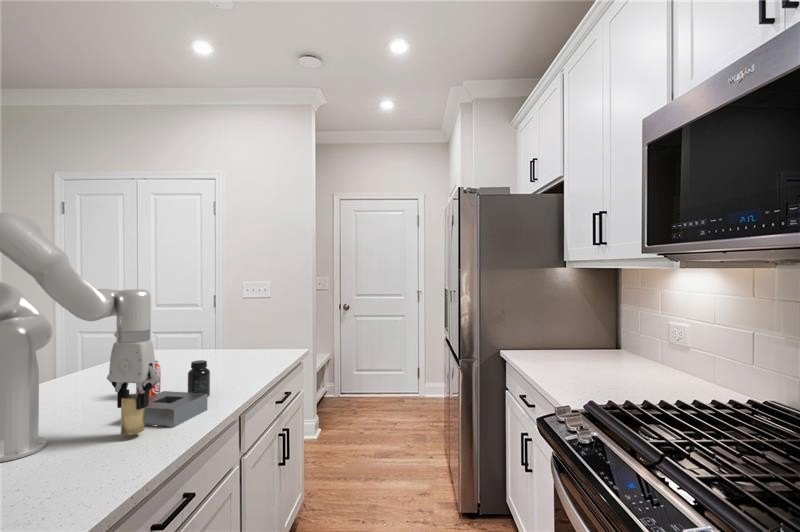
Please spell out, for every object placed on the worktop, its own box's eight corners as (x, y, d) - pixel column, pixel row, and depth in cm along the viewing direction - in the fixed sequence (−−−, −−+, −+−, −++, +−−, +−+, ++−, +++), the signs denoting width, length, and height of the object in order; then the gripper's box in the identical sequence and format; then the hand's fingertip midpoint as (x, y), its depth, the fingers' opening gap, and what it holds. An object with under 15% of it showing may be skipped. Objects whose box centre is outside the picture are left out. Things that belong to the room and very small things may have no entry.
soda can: (149, 401, 139) (149, 365, 139) (130, 400, 140) (131, 364, 140) (165, 395, 146) (165, 360, 146) (147, 394, 147) (147, 359, 147)
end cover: (133, 435, 107) (134, 398, 107) (115, 434, 108) (116, 397, 108) (149, 428, 112) (149, 392, 112) (132, 426, 113) (132, 391, 113)
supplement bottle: (188, 395, 146) (188, 360, 146) (210, 393, 149) (210, 358, 149) (186, 400, 140) (186, 364, 140) (209, 398, 142) (209, 362, 142)
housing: (173, 427, 116) (173, 409, 116) (125, 424, 119) (126, 406, 119) (207, 409, 131) (207, 393, 131) (164, 406, 134) (164, 391, 134)
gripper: (92, 338, 108) (91, 409, 108) (152, 340, 105) (151, 413, 105) (116, 333, 115) (116, 400, 115) (173, 335, 112) (172, 404, 112)
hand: (133, 406), depth 110 cm, fingers closed on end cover, 5 cm apart
